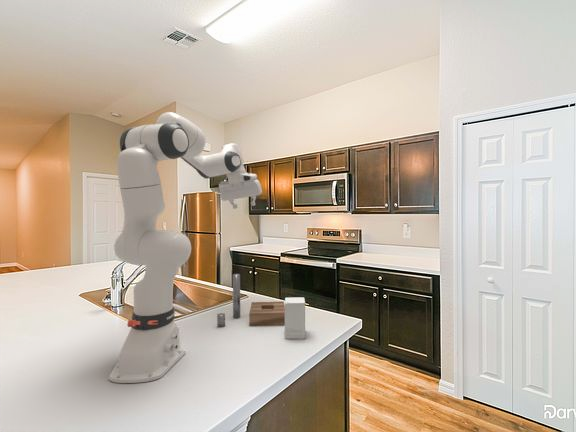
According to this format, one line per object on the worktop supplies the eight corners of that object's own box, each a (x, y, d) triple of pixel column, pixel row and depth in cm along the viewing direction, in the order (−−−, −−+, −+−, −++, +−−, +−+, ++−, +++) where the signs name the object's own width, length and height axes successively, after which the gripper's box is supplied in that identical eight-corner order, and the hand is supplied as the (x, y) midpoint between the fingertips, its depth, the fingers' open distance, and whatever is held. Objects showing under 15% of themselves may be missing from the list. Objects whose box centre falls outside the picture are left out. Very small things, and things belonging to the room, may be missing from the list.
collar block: (285, 325, 116) (285, 312, 116) (249, 326, 116) (249, 313, 116) (283, 312, 130) (283, 301, 130) (251, 313, 130) (251, 302, 130)
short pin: (224, 327, 115) (224, 315, 115) (216, 327, 114) (216, 316, 114) (225, 324, 118) (225, 313, 118) (218, 324, 117) (217, 313, 117)
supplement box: (305, 339, 104) (305, 303, 104) (284, 339, 104) (284, 303, 104) (304, 330, 111) (304, 296, 111) (285, 330, 111) (284, 296, 111)
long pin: (240, 318, 124) (239, 275, 124) (232, 318, 124) (232, 275, 123) (240, 315, 127) (240, 273, 126) (233, 316, 127) (233, 273, 126)
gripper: (214, 183, 139) (222, 211, 142) (255, 175, 134) (261, 205, 137) (220, 181, 145) (227, 208, 148) (259, 173, 140) (265, 202, 143)
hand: (244, 206), depth 142 cm, fingers open, 8 cm apart
